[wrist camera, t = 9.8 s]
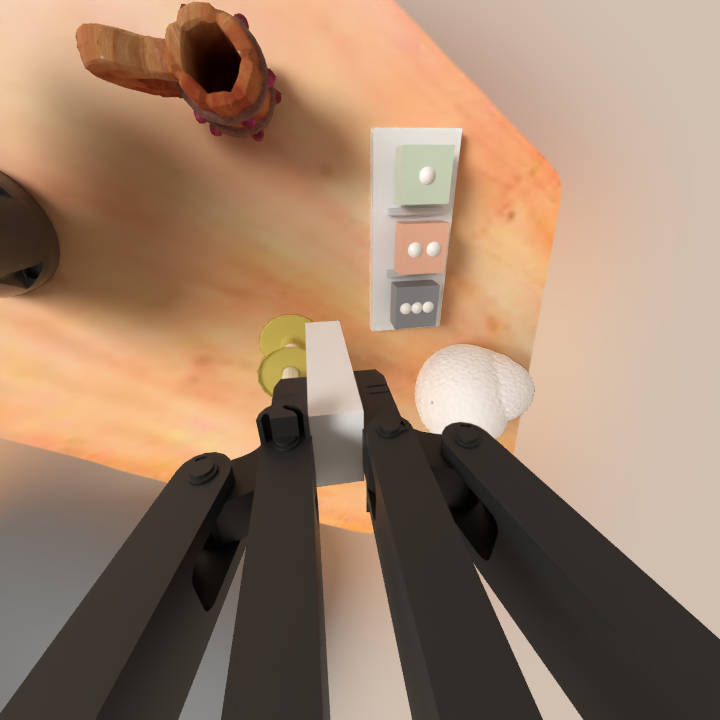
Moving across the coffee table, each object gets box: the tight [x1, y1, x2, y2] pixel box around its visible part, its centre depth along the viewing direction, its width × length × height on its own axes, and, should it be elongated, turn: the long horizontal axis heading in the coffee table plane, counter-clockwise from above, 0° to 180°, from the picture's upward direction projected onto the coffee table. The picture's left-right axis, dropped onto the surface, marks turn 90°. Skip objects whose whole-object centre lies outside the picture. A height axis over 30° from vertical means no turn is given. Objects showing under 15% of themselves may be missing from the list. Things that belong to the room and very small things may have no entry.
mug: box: [76, 2, 281, 141], centre depth 30 cm, size 15×8×15 cm, turn 86°
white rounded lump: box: [415, 344, 535, 439], centre depth 52 cm, size 20×18×16 cm
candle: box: [257, 314, 312, 398], centre depth 40 cm, size 10×10×27 cm
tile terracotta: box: [394, 220, 450, 275], centre depth 42 cm, size 6×6×3 cm
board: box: [370, 128, 462, 331], centre depth 46 cm, size 11×26×3 cm, turn 1°
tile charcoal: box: [390, 279, 440, 329], centre depth 47 cm, size 6×6×3 cm
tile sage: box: [394, 145, 455, 205], centre depth 39 cm, size 6×6×3 cm
